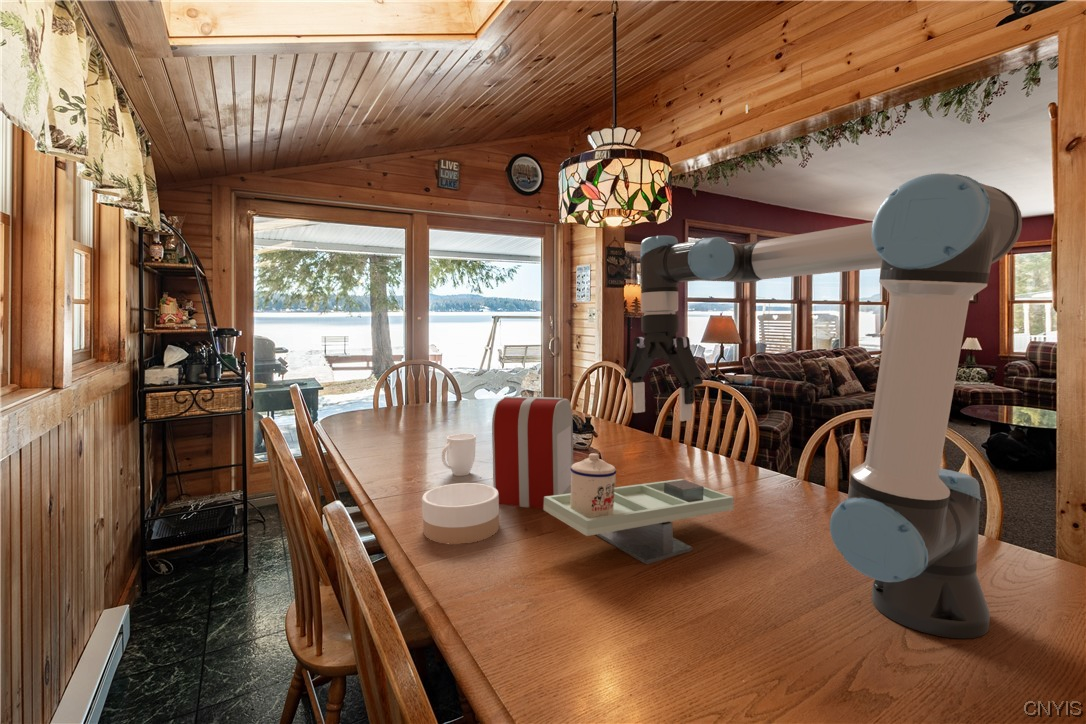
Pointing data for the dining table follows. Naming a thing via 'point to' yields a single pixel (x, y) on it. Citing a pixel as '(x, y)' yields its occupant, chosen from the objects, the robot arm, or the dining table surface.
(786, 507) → the dining table surface
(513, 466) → the red striped block
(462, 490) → the bowl
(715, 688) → the dining table surface
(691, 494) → the block
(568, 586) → the dining table surface
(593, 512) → the teacup with lid
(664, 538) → the fulcrum
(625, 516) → the divided tray
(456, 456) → the mug
